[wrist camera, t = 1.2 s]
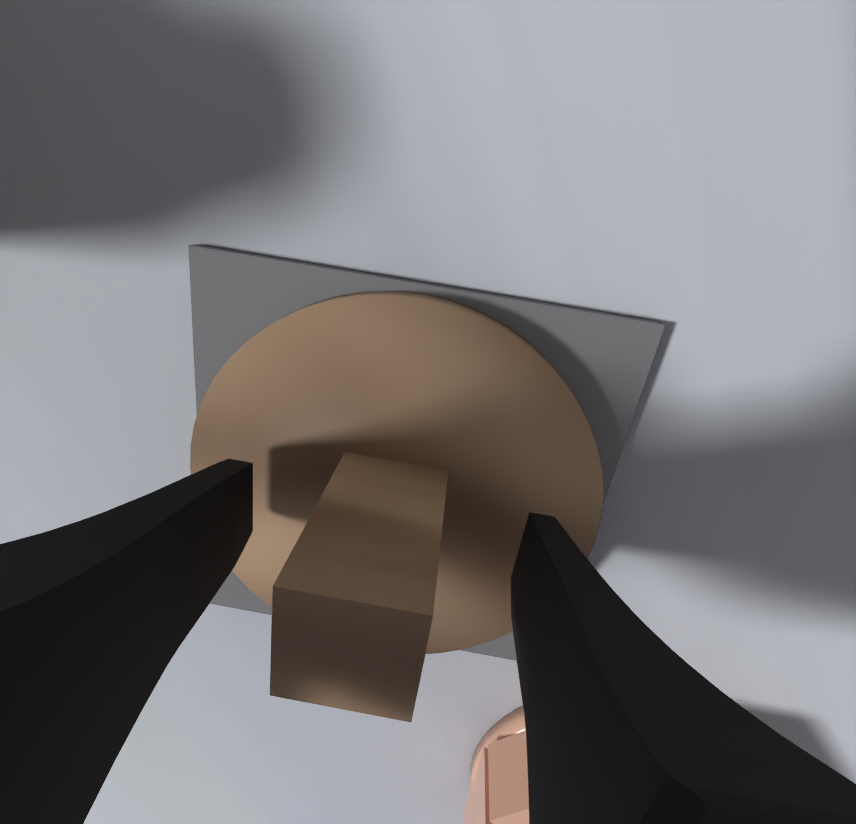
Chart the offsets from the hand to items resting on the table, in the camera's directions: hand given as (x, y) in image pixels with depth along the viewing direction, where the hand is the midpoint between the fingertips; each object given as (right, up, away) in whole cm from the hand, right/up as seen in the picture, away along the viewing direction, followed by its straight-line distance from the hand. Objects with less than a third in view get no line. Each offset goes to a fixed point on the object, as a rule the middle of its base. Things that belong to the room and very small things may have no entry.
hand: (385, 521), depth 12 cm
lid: (0, +1, +1) cm, 2 cm away
